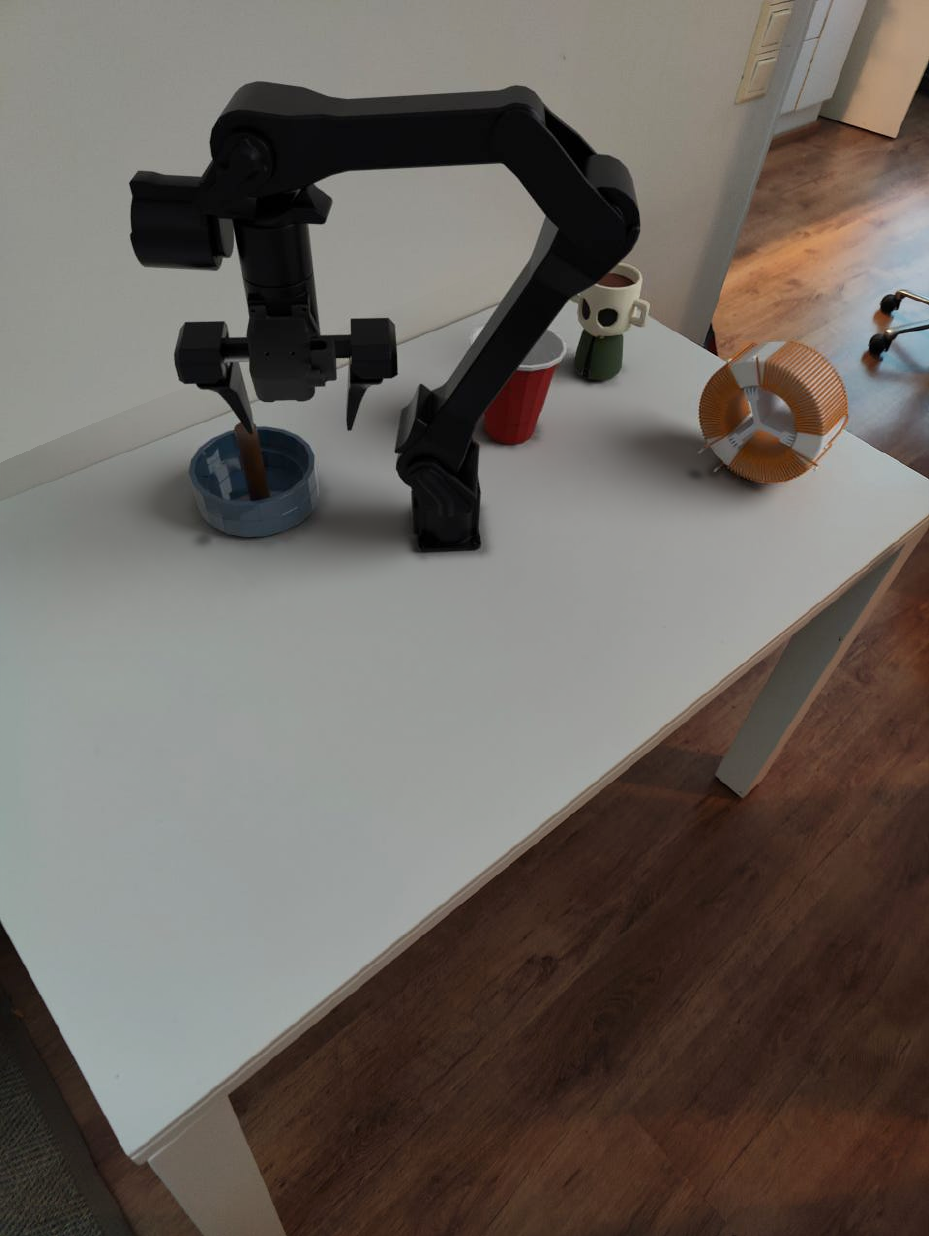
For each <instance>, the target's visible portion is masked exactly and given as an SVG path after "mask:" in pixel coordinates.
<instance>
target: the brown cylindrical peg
mask: <svg viewBox="0 0 929 1236" xmlns="http://www.w3.org/2000/svg"><path fill="white" fill-rule="evenodd" d="M253 423H254V433H253V434H249V433H248V432H247V430H246V429H245V427H244V426H243V424H242V423H241V422H240V421H239V422H238V423H237V424H235V425H234V428H233V430H234V431H235V435H236V440H237V444H238V449H239V453H240V458H241V462H242V467H243V472H244V476H245V481H246V485H247V490H248V494H249V498H250V500H251V501H258V500H262V499H266V498H269V497H270V493H269V488H268V483H267V477H266V472H265V467H264V462H263V457H262V452H261V447H260V442H259V437H258V432H257V424H256V423H255V422H253Z"/></svg>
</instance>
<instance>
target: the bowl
mask: <svg viewBox="0 0 929 1236" xmlns="http://www.w3.org/2000/svg"><path fill="white" fill-rule="evenodd" d="M256 426H257V425H256ZM257 432H258V437H259V442H260V447H261V452H262V457H263V462H264V467H265V472H266V477H267V483H268V488H269V493H270V497H269V498H266V499H262V500H258V501H251V500H250V498H249V494H248V490H247V485H246V481H245V476H244V472H243V467H242V462H241V458H240V453H239V449H238V444H237V440H236V435H235V431H234V429H231V430H228V431H227V430H226V431H225V432H223V433H221V434H219V435H216V436H214V437H212V438H210V439H209V440H208V441H207V442H205V443H203V445H201V446H199V448H198V449H197V451H196V452H195V453H194V454H193V456H192V458H190V463H189V468H188V476H189V479H190V483H191V486H192V490H193V494H194V497H195V501H196V504H197V507H198V510H199V513H200V516H201V517H202V518H203V520H205V522H207V523H208V525H210V526H211V527H212V528H214V529H216V530H218V531H220V532H222V533H225V534H227V535H231V536H233V535H234V536H236V537H237V536H238V537H243V538H255V537H267V536H271V535H275V534H279V533H283V532H285V531H287V530H289V529H291V528H293V527H295V526H297V525H299V524H300V523H301V522H303V521H304V520H305V519H306V518H308V516H309V515H311V513H312V512H313V511H314V508H315V507H316V505H317V503H318V501H319V496H320V495H319V494H320V486H319V477H318V470H317V463H316V456H315V454H314V452H313V449H312V448H311V445H310V444H309V442H307V441H306V440H305V439H304V438H302V436H300V435H298V434H297V433H293V432H292V431H289V430H288V429H287V430H286V429H283V428H278V427H273V426H266V425H261V426H260V425H259V426H257Z"/></svg>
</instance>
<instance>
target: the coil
mask: <svg viewBox="0 0 929 1236" xmlns="http://www.w3.org/2000/svg"><path fill="white" fill-rule="evenodd" d="M725 362H726V363H725V364H724V365H723V366H721V367H720V368H718V370H717V371H715V373H713V374H712V376H710V378H709V379H708V381H707V382H706V384H705V385H704V388H703V390H702V392H701V394H700V398H699V403H698V404H699V405H698V419H699V420H698V422H699V426H700V430H701V431H700V432H701V434H702V437H703V440H705V441H706V440H707V445H705V446H703V447H702V448H701V449H699V451H698V452H697V453H698V454H701V453H702V452H703V451H704V450H706V449H707V448H709V447H710V448H711V449H712V450H713V451H712V452H714V454H715V456H717V457H718V458H719V459H720V460H721V461H722V462H721V464H719V465H718V466H717V467H716V468H715V469H714V470H713V472H714V473H716V472H717V471H719V470H720V469H721V468H722V467H723V466H724V465H726V466H727V467H726V468H727V470H729V471H730V472H733V474H736V476H739V477H740V478H742V477H743V479H747V480H748V481H751V482H754V483H756V482H757V483H761V484H770V485H771V484H779V483H780V484H782V483H786V482H790V481H793V480H795V479H797V478H800V477H801V476H803V475H804V474H806V473H807V472H808V471H810V469H812V468H813V467H814V466H815V467H814V469H813V472H816V471H817V470H818V469H819V467H820V465H819V464H818V461H820V459H822V458H823V456H824V455H826V453H827V452H828V451H830V449H831V448H832V447H833V443H834V441H835V440H836V439H837V437H838V436H839V435H840V434H841V432H842V431H843V430H844V428H845V427H846V425H847V424H848V423H849V419H850V415H849V413H848V412H849V411H848V410H849V407H848V405H849V402H848V401H849V399H848V395H847V390H846V387H845V383H843V379H842V377H841V375H839V374H840V373H839V372H837V369H836V368H835V365H832V362H831V361H829V359H826V356H823V354H822V353H820V351H818V350H817V351H816V349H815V348H813V347H812V346H809V345H808V344H805V343H801V342H800V341H798V342H797V341H796V340H792V339H790V340H789V341H767V342H764V343H760V344H758V343H757V342H756V341H751V342H749V343H748V344H745V345H744V346H743V347H742V348H740V349H739V350H738V351H737V352H736V353H734V354H733V355H731V357H730V358H728V359H727V360H726V361H725ZM751 414H752V416H751ZM845 416H846V418H845Z"/></svg>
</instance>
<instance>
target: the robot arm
mask: <svg viewBox="0 0 929 1236" xmlns="http://www.w3.org/2000/svg"><path fill="white" fill-rule="evenodd" d="M209 149H210V150H209V151H210V156H211V160H210V162H209V164H208V165H207V167H206V168H205V170H204V172H203V173H202V175H201V176H196V175H177V174H165V173H161V172H157V171H153V170H137V171H136V173H134V175H133V177H132V178H131V179H130V181H129V182H128V185H129V190H130V193H131V201H130V211H129V212H130V213H129V214H130V217H129V219H130V228H131V229H130V230H131V232H130V233H129V239H130V240H129V241H130V244H131V248H132V250H133V253H134V256H135V257H136V259H137V261H138V262H139V264H140V265H141V266H143V267H144V268H155V269H170V270H171V269H172V270H173V269H174V270H193V271H209V272H218V271H219V270H220V269H221V267H222V264H223V260H224V259H230V258H231V257H232V255H233V253H234V247H235V243H236V249H237V256H238V259H239V266H240V271H241V277H242V284H243V288H244V293H245V299H246V305H247V313H248V322H247V328H246V334H245V335H246V336H235V337H230V332H229V328H228V327H229V326H228V324H227V323H226V321H225V320H217V321H185V322H184V323H183V325H181V327H180V328H179V332H178V334H177V340H176V343H175V348H174V352H173V360H174V367H175V370H176V374H177V379H178V381H179V382H181V383H182V384H184V385H196V387H197V388H198V389H199V390H202V391H211V392H213V393H217V394H218V395H219V396H220V397H221V398H222V399H223V400H224V401H225V403H227V405H228V406H229V407H230V409H231V410H232V412H233V413H234V414H235V416H236V417H237V419H238V420H239V423H240V422H241V423H242V424H243V426H244V427H245V429H246V430H247V432H248V433H249V434H253V433H254V423H255V422H254V418H253V417H254V416H253V410H252V407H251V402H250V399H249V395H248V390H247V387H246V384H245V379H244V376H243V373H242V368H241V365H240V363H248V371H249V375H250V378H251V381H252V382H251V383H252V385H253V389H254V393H255V396H256V398H257V399H258V400H259V401H260V402H263V403H274V402H281V401H282V402H284V401H296V402H301V403H303V402H307V401H310V400H311V399H313V398H314V396H315V394H316V388H326V383H327V382H334V381H337V379H338V375H337V374H338V372H337V359H348V370H347V386H346V387H347V389H346V404H345V405H346V407H345V419H346V420H345V422H346V431H347V432H348V431H350V432H351V431H352V430H353V428H354V424H355V421H356V419H357V415H358V411H359V408H360V406H361V402H362V400H363V397H364V396H365V394H366V392H367V390H368V389H369V388H371V387H372V386H379V385H381V384H382V383H383V382H384V380H388V379H394V378H395V377H396V376H398V375H399V367H398V347H397V345H398V344H397V333H396V332H397V331H396V324H395V323H394V322H393V321H392V320H391V319H390V317H363V318H362V317H360V318H359V317H357V318H350V333H348V334H321V327H320V324H321V323H320V317H319V315H320V314H319V307H318V298H317V290H316V281H315V272H314V265H313V264H314V263H313V254H312V253H313V252H312V245H311V235H310V227H309V225H322V226H323V225H324V224H325V225H326V222H327V221H328V217H329V214H330V212H331V209H332V206H333V204H334V203H333V198H332V197H331V196H330V195H328V194H327V193H326V192H325V191H324V190H322V189H321V188H319V187H318V186H316V183H319V182H320V181H323V180H325V179H327V178H330V177H331V176H335V175H338V174H343V173H346V172H359V171H379V170H399V169H400V170H401V169H402V170H403V169H419V168H421V169H422V168H439V167H456V166H459V167H460V166H476V165H477V166H478V165H481V166H482V165H499V164H501V165H504V166H505V167H506V168H507V169H508V170H509V171H510V172H511V173H512V174H513V175H514V176H515V177H516V178H517V180H518V181H519V182H520V184H521V185H522V186H523V188H524V189H525V190H526V191H527V193H528V195H530V197H531V198H532V200H533V201H534V202H535V204H536V205H537V206H538V208H539V209H540V210H541V212H542V213H543V214H544V215H545V217H544V220H543V222H542V226H541V228H540V231H539V234H538V236H537V239H536V242H535V245H534V248H533V250H532V253H531V255H530V258H529V260H528V261H527V262H526V264H525V266H524V267H523V268H522V270H521V271H520V273H519V275H518V276H517V277H516V279H515V280H514V282H513V283H512V285H511V286H510V288H509V289H508V291H507V292H506V293H505V295H504V297H503V298H502V299H501V301H500V302H499V304H498V306H497V307H496V309H494V311H493V313H492V314H491V316H490V317H489V319H488V320H487V321H486V323H485V324H486V325H485V326H484V328H483V329H482V331H481V332H480V334H479V335H478V336H477V338H476V339H475V341H474V342H473V344H472V345H471V346H470V347H469V348H468V350H467V351H466V353H465V354H464V355H463V357H462V358H461V360H460V362H459V363H458V364H457V366H456V367H455V369H454V370H453V372H452V373H451V375H450V376H449V378H448V379H447V381H446V382H444V384H442V385H441V386H439V387H437V388H435V389H432V390H431V389H429V388H428V387H427V386H425V385H424V384H423V383H419V384H418V385H417V387H416V390H415V393H414V396H413V398H412V399H411V400H410V402H409V403H408V404H407V405H406V406H404V407H402V408H401V409H400V414H399V421H398V426H397V432H396V433H397V434H396V438H395V444H394V452H393V453H395V454H397V455H396V461H395V462H396V463H395V471H396V473H397V475H398V478H399V479H400V480H401V481H402V482H403V483H404V484H405V485H406V486H408V487H410V489H411V491H410V496H411V497H410V498H411V499H410V501H411V502H410V505H411V526H412V534H413V535H414V536H416V538H417V547H418V551H420V552H422V553H423V552H443V551H445V552H446V551H464V550H465V551H466V550H479V549H480V548H481V547H482V540H481V535H480V513H481V498H482V497H481V496H482V491H481V485H480V479H479V464H480V463H479V462H480V447H481V446H480V444H479V442H477V441H476V440H475V439H474V438H473V436H474V433H475V430H476V427H477V425H478V424H479V421H480V419H481V418H482V417H483V416H484V413H485V411H486V410H487V409H488V407H489V406H490V405H491V403H492V402H493V401H494V399H495V398H496V397H497V395H498V394H499V393H500V391H501V390H502V389H503V387H504V386H505V385H506V383H507V382H508V381H509V379H510V378H511V377H512V375H513V374H514V373H515V371H516V370H517V369H518V367H519V366H520V364H521V363H522V362H523V360H524V359H525V358H526V356H527V355H528V354H529V352H530V351H531V350H532V348H533V347H534V346H535V344H536V343H537V342H538V340H539V339H540V338H541V336H542V335H543V334H544V332H545V331H546V330H547V328H548V329H549V327H550V326H551V324H552V323H553V322H554V320H555V319H556V317H557V316H558V315H559V314H560V312H561V311H562V310H563V308H564V307H565V306H566V304H567V303H568V302H569V301H571V300H570V299H571V298H572V297H574V296H575V295H580V293H581V292H583V291H585V290H586V289H588V288H590V287H592V286H594V285H595V284H597V283H599V282H600V281H601V280H602V279H603V278H604V277H605V276H606V275H607V274H608V273H609V272H610V271H611V270H612V269H613V268H614V267H616V266H617V265H618V264H619V263H622V261H623V260H624V259H625V258H626V257H627V256H628V255H629V254H630V253H631V252H632V251H633V249H634V248H635V245H636V244H637V242H638V240H639V237H640V234H641V215H640V209H639V208H640V207H639V205H638V199H637V195H636V189H635V185H634V180H633V177H632V175H631V173H630V170H629V168H628V167H627V166H626V165H625V164H624V163H623V162H622V161H621V160H620V159H618V158H617V157H614V156H612V155H610V154H603V153H597V151H596V150H595V149H594V148H593V147H592V145H590V144H589V142H588V141H587V140H586V139H585V138H584V137H583V136H582V135H581V134H580V133H579V132H578V131H577V130H575V129H574V128H573V127H572V126H570V124H568V123H566V122H565V121H564V120H563V119H561V118H560V117H559V116H558V115H556V114H555V113H554V112H553V111H551V110H550V108H549V107H548V106H547V105H546V104H545V103H544V102H543V100H542V99H541V97H539V95H538V94H537V92H536V91H535V90H533V89H532V88H529V87H528V86H526V85H519V84H515V85H510V86H508V87H506V88H502V89H498V90H497V89H496V90H480V91H479V90H477V91H460V92H442V93H427V94H410V95H409V94H408V95H392V96H391V95H390V96H376V97H375V96H374V97H373V96H372V97H355V98H343V97H336V96H330V95H326V94H323V93H321V92H318V91H315V90H313V89H310V88H308V87H304V86H299V85H291V84H285V83H278V82H271V81H264V80H263V81H260V80H256V81H252V82H248V83H245V84H243V85H242V86H241V87H239V88H238V89H237V90H236V91H235V92H234V94H233V96H232V97H231V98H230V100H229V101H228V103H227V104H226V106H225V107H224V109H223V110H222V111H221V113H220V114H219V116H218V117H217V120H216V121H215V123H214V124H213V126H212V128H211V130H210V137H209Z"/></svg>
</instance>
